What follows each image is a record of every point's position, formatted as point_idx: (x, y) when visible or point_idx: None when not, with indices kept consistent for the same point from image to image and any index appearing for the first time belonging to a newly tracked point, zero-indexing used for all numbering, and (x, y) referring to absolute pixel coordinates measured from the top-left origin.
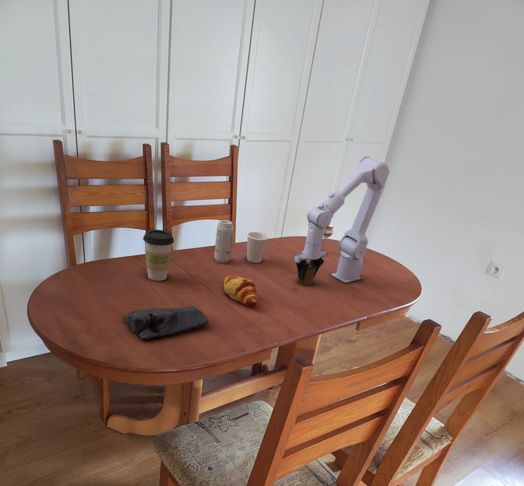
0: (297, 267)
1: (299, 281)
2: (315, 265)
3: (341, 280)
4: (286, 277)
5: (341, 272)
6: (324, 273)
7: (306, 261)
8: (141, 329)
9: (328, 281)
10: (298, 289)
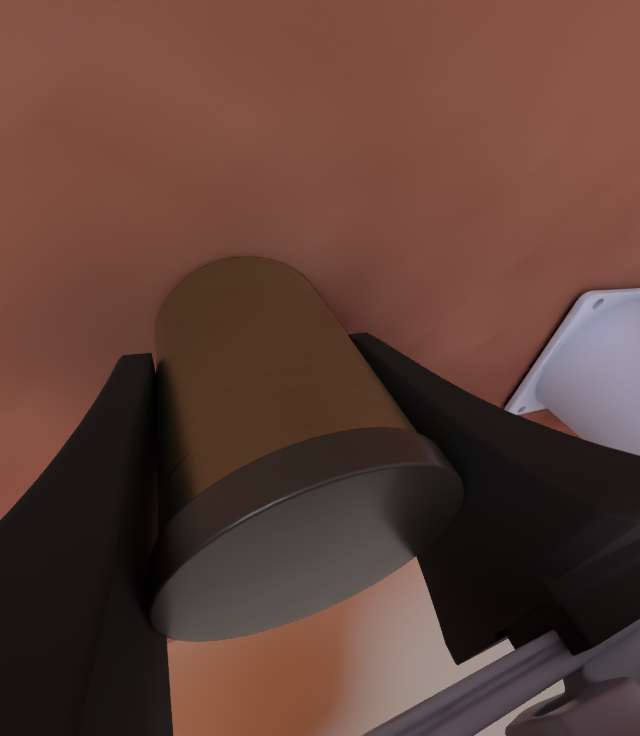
0: (6, 530)
1: (156, 334)
2: (389, 569)
3: (519, 388)
4: (20, 44)
5: (581, 405)
6: (593, 240)
7: (426, 467)
8: None
9: (453, 368)
10: (27, 442)
